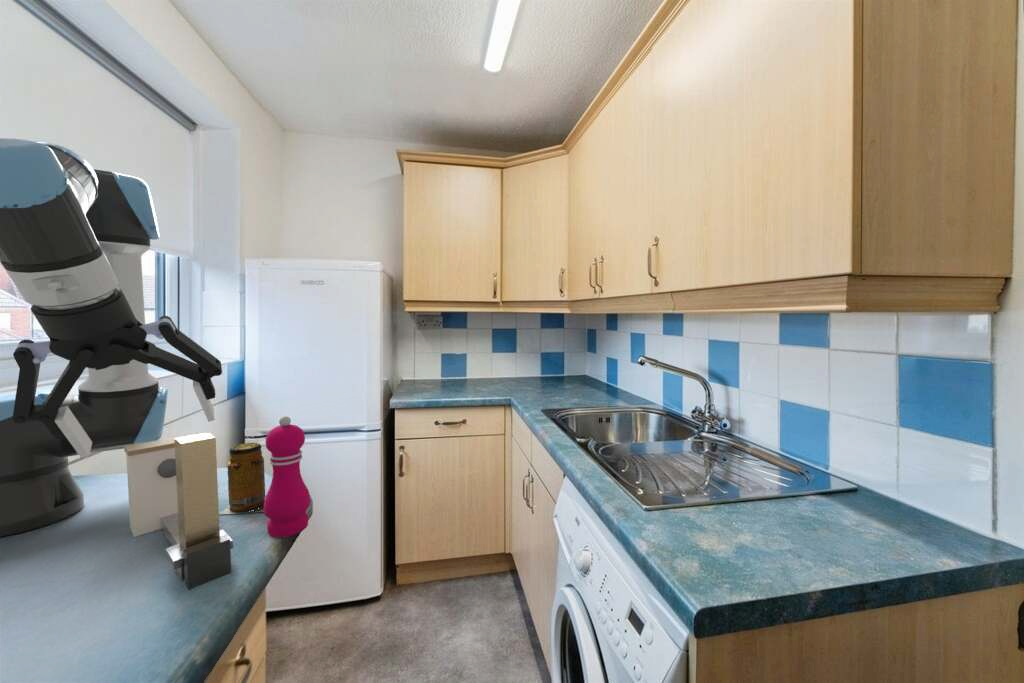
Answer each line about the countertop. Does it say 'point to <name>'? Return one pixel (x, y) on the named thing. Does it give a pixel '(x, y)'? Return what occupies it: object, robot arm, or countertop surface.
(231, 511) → the condiment
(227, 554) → the rail
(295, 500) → the pepper mill
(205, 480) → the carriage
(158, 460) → the end cabinet
